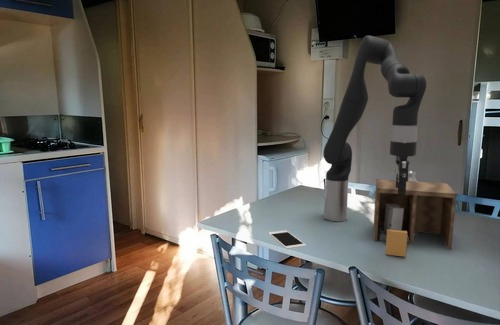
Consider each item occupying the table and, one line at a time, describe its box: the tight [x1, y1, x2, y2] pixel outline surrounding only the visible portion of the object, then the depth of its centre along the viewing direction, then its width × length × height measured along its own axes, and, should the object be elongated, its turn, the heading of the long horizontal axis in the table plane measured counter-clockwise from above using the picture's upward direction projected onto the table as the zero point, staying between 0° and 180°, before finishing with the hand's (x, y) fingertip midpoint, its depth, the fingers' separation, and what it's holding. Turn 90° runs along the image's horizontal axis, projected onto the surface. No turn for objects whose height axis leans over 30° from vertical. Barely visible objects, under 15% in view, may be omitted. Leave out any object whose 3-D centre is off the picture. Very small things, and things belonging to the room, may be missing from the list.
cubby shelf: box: [373, 178, 457, 250], centre depth 135 cm, size 25×16×20 cm, turn 72°
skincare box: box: [383, 204, 404, 235], centre depth 135 cm, size 6×4×12 cm
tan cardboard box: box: [378, 225, 408, 258], centre depth 129 cm, size 9×24×8 cm, turn 162°
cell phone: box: [268, 230, 307, 249], centre depth 134 cm, size 8×16×1 cm, turn 20°
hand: (400, 191), depth 116 cm, fingers open, 8 cm apart
